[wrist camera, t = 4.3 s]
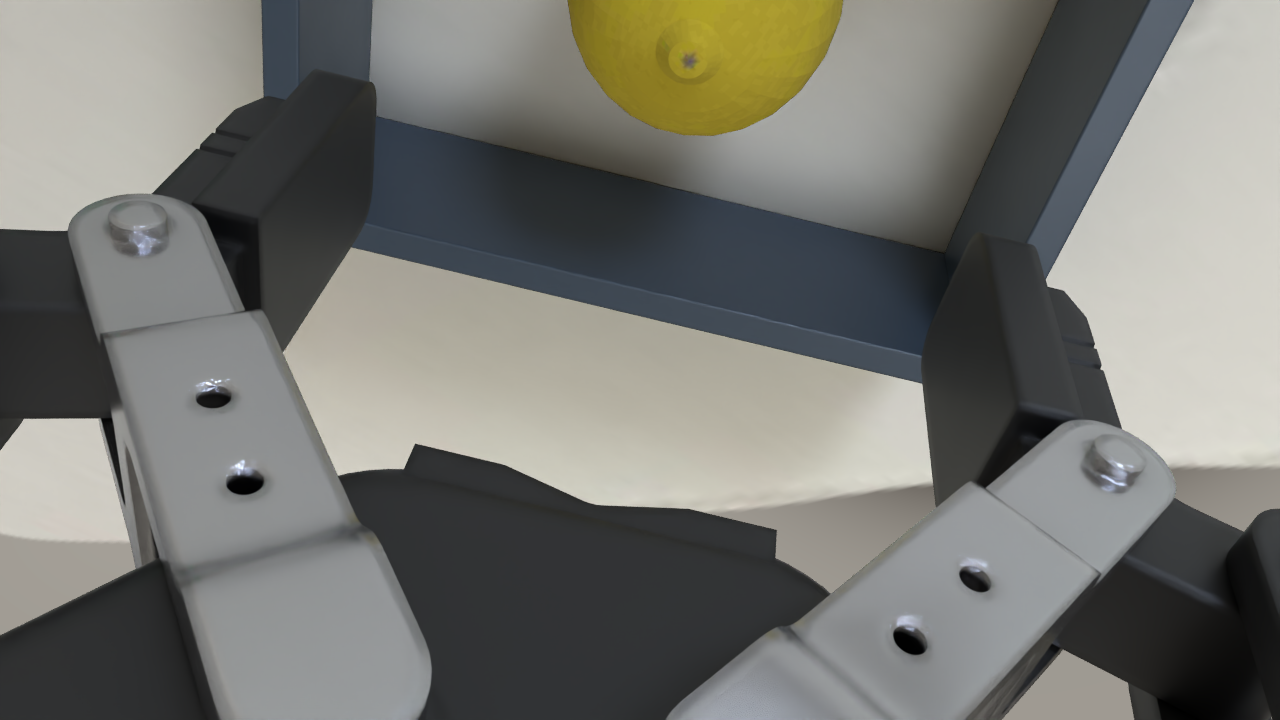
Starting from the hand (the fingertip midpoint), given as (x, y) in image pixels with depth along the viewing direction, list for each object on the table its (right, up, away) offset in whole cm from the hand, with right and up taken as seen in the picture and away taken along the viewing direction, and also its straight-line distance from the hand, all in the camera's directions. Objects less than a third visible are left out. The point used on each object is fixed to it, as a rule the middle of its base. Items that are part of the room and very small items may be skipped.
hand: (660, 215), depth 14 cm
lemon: (+2, +8, +11) cm, 14 cm away
